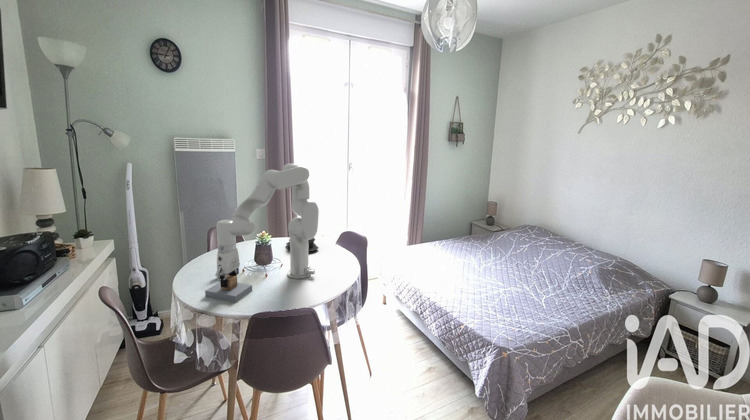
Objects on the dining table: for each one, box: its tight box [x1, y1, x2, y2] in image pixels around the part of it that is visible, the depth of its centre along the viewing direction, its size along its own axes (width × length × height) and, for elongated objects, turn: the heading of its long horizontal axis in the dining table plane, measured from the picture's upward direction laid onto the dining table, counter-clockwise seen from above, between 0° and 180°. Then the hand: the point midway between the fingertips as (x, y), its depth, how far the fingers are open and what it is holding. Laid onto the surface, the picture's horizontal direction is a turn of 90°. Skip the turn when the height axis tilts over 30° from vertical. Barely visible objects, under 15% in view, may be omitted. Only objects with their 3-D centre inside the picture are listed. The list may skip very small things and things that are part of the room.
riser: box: [204, 281, 253, 303], centre depth 150 cm, size 16×12×3 cm
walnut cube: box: [221, 275, 238, 290], centre depth 149 cm, size 5×5×5 cm
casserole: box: [285, 237, 319, 253], centre depth 216 cm, size 25×19×8 cm
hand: (228, 283), depth 149 cm, fingers open, 5 cm apart
